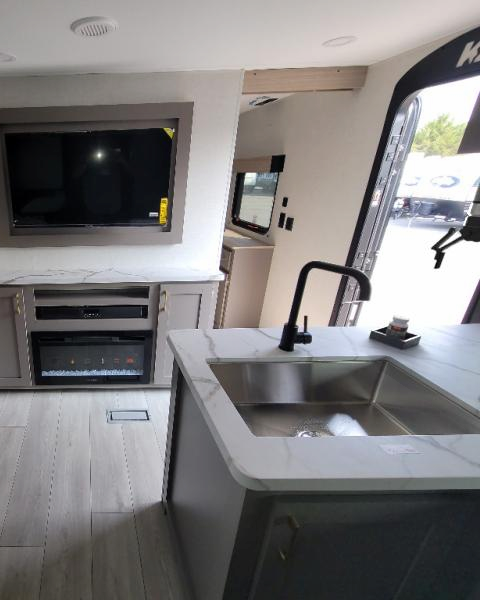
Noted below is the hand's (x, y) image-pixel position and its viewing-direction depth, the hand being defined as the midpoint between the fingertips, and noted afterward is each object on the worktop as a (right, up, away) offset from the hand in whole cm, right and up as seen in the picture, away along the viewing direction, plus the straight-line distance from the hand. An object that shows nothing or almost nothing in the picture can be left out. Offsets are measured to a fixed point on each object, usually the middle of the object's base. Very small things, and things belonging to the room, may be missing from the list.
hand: (460, 272), depth 124 cm
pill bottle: (-16, -27, +10) cm, 33 cm away
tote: (-16, -27, +10) cm, 33 cm away
